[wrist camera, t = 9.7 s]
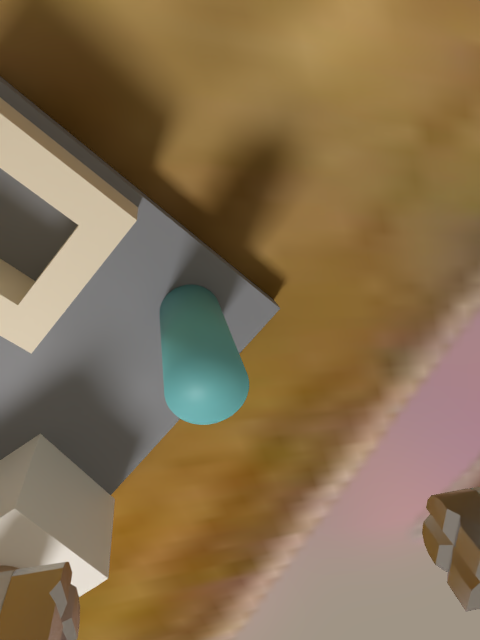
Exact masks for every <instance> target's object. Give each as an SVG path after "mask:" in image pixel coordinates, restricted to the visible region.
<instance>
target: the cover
mask: <svg viewBox="0 0 480 640" xmlns="http://www.w3.org/2000/svg"><path fill="white" fill-rule="evenodd" d="M114 502H115V499H114V498H113V497H112V496H111V495H110V494H109V493H107V492H106V491H105V490H104V489H103V488H102V487H101V486H99V485H98V484H97V483H96V482H95V481H94V480H93V479H91V478H90V477H89V476H88V475H87V474H86V473H85V472H84V471H82V470H81V469H80V468H79V467H78V466H77V465H76V464H74V463H73V462H72V461H71V460H70V459H69V458H68V457H66V456H65V455H64V454H63V453H62V452H61V451H60V450H58V449H57V448H56V447H55V446H54V445H53V444H52V443H51V442H49V441H48V440H47V439H46V438H45V437H44V436H43V435H41V434H39V435H37V436H36V437H34V438H33V439H31V440H30V441H28V442H27V443H25V444H24V445H22V446H21V447H19V448H18V449H16V450H15V451H13V452H12V453H10V454H9V455H7V456H6V457H4V458H3V459H1V460H0V572H5V571H11V570H16V569H22V568H29V567H36V566H42V565H49V564H55V563H62V562H69V564H70V567H71V570H72V578H71V584H72V585H74V586H75V587H77V591H78V595H79V597H80V596H81V595H83V594H85V593H86V592H88V591H89V590H91V589H92V588H94V587H96V586H97V585H99V584H100V583H102V582H104V581H105V580H107V579H108V575H109V563H110V551H111V539H112V527H113V514H114Z"/></svg>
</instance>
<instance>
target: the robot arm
mask: <svg viewBox="0 0 480 640" xmlns="http://www.w3.org/2000/svg"><path fill="white" fill-rule="evenodd" d="M426 508H427V510H428V511H429V512H430V515H429V516H428V517H427V519H426V520H425V521H424V523H423V531H422V534H423V539H424V543H425V546H426V548H427V551H428V553H429V555H430V557H431V558H432V560H433V561H434V563H435V565H437V566H438V567H440V568H442V569H443V570H445V571H446V572H448V575H447V583H448V585H449V586H450V588H451V589H452V591H453V592H454V594H455V595H456V597H457V598H458V600H459V601H460V603H461V605H462V606H463V607H464V609H465V611H471V610H476V609H480V487H475V488H470V489H468V488H467V489H462V490H457V491H452V492H447V493H441V494H436V495H431V497H430V498H429V499H428V501H427V506H426ZM71 578H72V570H71V567H70V564H69V562H62V563H55V564H49V565H42V566H36V567H29V568H22V569H16V570H11V571H5V572H0V640H76V639H77V638H78V630H79V620H80V604H79V595H78V591H77V587H75V586H74V585H72V584H71Z"/></svg>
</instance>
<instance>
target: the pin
mask: <svg viewBox="0 0 480 640" xmlns="http://www.w3.org/2000/svg"><path fill="white" fill-rule="evenodd" d="M159 315H160V332H161V348H162V365H163V381H164V396H165V400H166V403H167V405H168V407H169V408H170V410H171V411H172V412H173V413H174V414H175V415H176V416H177V417H179V418H180V419H182V420H184V421H186V422H189V423H193V424H200V425H204V424H213V423H217V422H220V421H223V420H225V419H227V418H228V417H230V416H232V415H233V414H234V413H235V412H236V411H237V410H239V408H240V407H241V406H242V405H243V403H244V401H245V399H246V397H247V394H248V390H249V379H248V375H247V372H246V370H245V367H244V365H243V362H242V360H241V357H240V355H239V352H238V350H237V347H236V345H235V342H234V340H233V337H232V335H231V332H230V330H229V327H228V325H227V322H226V320H225V317H224V315H223V312H222V310H221V307H220V305H219V302H218V300H217V298H216V297H215V295H214V294H213V293H212V292H211V291H209V290H208V289H206V288H204V287H202V286H199V285H183V286H180V287H177V288H175V289H174V290H172V291H171V292H169V293H168V294H167V295H166V297H165V298H164V299H163V301H162V303H161V306H160V313H159Z"/></svg>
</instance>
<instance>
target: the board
mask: <svg viewBox="0 0 480 640" xmlns="http://www.w3.org/2000/svg"><path fill="white" fill-rule="evenodd" d="M183 285H199V286H202V287H204V288H206V289H208V290H209V291H211V292H212V293H213V294H214V295H215V297H216V298H217V300H218V302H219V305H220V307H221V310H222V312H223V315H224V317H225V320H226V322H227V325H228V327H229V330H230V332H231V335H232V337H233V340H234V342H235V345H236V347H237V350H238V352H239V353H240V352H241V351H242V350H243V349H244V348H245V347H246V346H247V344H248V343H249V342H250V341H251V340H252V339H253V338H254V337H255V336H256V335H257V333H258V332H259V331H260V330H261V329H262V328H263V327H264V326H265V325H266V324H267V322H268V321H269V320H270V319H271V318H272V317H273V316H274V315H275V314H276V313H277V311H278V310H279V309H280V308H279V306H278V305H277V304H276V302H275V301H274V300H273V299H272V298H271V297H269V296H268V295H267V294H266V293H265V292H263V291H262V290H261V289H260V288H258V287H257V286H256V285H255V284H254V283H252V282H251V281H250V280H249V279H247V278H246V277H245V276H244V275H243V274H241V273H240V272H239V271H238V270H236V269H235V268H234V267H233V266H232V265H230V264H229V263H228V262H227V261H225V260H224V259H223V258H222V257H221V256H219V255H218V254H217V253H216V252H214V251H213V250H212V249H211V248H210V247H208V246H207V245H206V244H205V243H203V242H202V241H201V240H200V239H199V238H197V237H196V236H195V235H194V234H192V233H191V232H190V231H189V230H188V229H186V228H185V227H184V226H183V225H181V224H180V223H179V222H178V221H177V220H175V219H174V218H173V217H172V216H170V215H169V214H168V213H167V212H166V211H164V210H163V209H162V208H161V207H159V206H158V205H157V204H156V203H155V202H153V201H152V200H151V199H150V198H148V197H147V196H146V195H145V194H144V193H142V192H141V191H140V190H139V189H137V188H136V187H135V186H134V185H133V184H131V183H130V182H129V181H128V180H126V179H125V178H124V177H123V176H122V175H120V174H119V173H118V172H117V171H115V170H114V169H113V168H112V167H111V166H109V165H108V164H107V163H106V162H104V161H103V160H102V159H101V158H100V157H98V156H97V155H96V154H95V153H93V152H92V151H91V150H90V149H89V148H87V147H86V146H85V145H84V144H82V143H81V142H80V141H79V140H78V139H76V138H75V137H74V136H73V135H71V134H70V133H69V132H68V131H67V130H65V129H64V128H63V127H62V126H60V125H59V124H58V123H57V122H56V121H54V120H53V119H52V118H51V117H49V116H48V115H47V114H46V113H45V112H43V111H42V110H41V109H40V108H38V107H37V106H36V105H35V104H34V103H32V102H31V101H30V100H29V99H27V98H26V97H25V96H24V95H23V94H21V93H20V92H19V91H18V90H16V89H15V88H14V87H13V86H12V85H10V84H9V83H8V82H7V81H5V80H4V79H3V78H2V77H1V76H0V460H1V459H3V458H4V457H6V456H7V455H9V454H10V453H12V452H13V451H15V450H16V449H18V448H19V447H21V446H22V445H24V444H25V443H27V442H28V441H30V440H31V439H33V438H34V437H36V436H37V435H39V434H41V435H43V436H44V437H45V438H46V439H47V440H48V441H49V442H51V443H52V444H53V445H54V446H55V447H56V448H57V449H58V450H60V451H61V452H62V453H63V454H64V455H65V456H66V457H68V458H69V459H70V460H71V461H72V462H73V463H74V464H76V465H77V466H78V467H79V468H80V469H81V470H82V471H84V472H85V473H86V474H87V475H88V476H89V477H90V478H91V479H93V480H94V481H95V482H96V483H97V484H98V485H99V486H101V487H102V488H103V489H104V490H105V491H106V492H107V493H109V494H110V495H111V494H112V493H113V492H114V491H115V490H116V489H117V488H118V486H119V485H120V484H121V483H122V482H123V481H124V480H125V479H126V478H127V477H128V475H129V474H130V473H131V472H132V471H133V470H134V469H135V468H136V467H137V466H138V464H139V463H140V462H141V461H142V460H143V459H144V458H145V457H146V456H147V455H148V453H149V452H150V451H151V450H152V449H153V448H154V447H155V446H156V445H157V444H158V442H159V441H160V440H161V439H162V438H163V437H164V436H165V435H166V434H167V433H168V431H169V430H170V429H171V428H172V427H173V426H174V425H175V424H176V423H177V422H178V420H179V419H180V418H179V417H177V416H176V415H175V414H174V413H173V412H172V411H171V410H170V408H169V407H168V405H167V403H166V400H165V396H164V381H163V365H162V348H161V332H160V315H159V313H160V306H161V303H162V301H163V299H164V298H165V297H166V295H167V294H168V293H169V292H171V291H172V290H174V289H175V288H177V287H180V286H183Z"/></svg>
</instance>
